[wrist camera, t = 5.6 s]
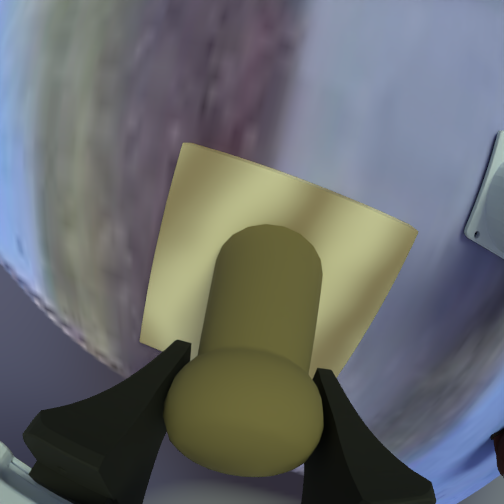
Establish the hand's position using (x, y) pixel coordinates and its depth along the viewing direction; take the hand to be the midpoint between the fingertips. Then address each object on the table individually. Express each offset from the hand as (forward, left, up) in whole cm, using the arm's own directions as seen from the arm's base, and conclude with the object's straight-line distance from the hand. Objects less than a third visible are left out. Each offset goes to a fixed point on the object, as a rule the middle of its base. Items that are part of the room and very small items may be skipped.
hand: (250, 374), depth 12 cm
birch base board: (0, 0, -8) cm, 8 cm away
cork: (0, -2, -7) cm, 7 cm away
